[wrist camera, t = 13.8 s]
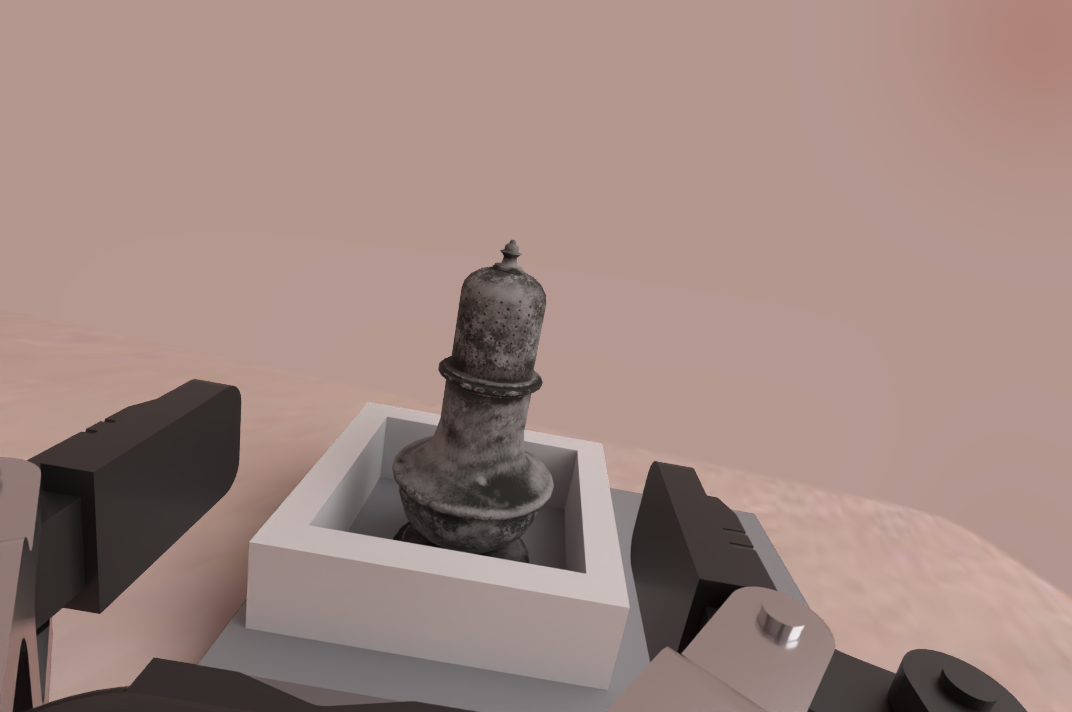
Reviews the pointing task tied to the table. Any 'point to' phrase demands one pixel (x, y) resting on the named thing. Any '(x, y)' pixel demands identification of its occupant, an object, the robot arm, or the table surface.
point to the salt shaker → (481, 425)
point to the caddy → (446, 589)
